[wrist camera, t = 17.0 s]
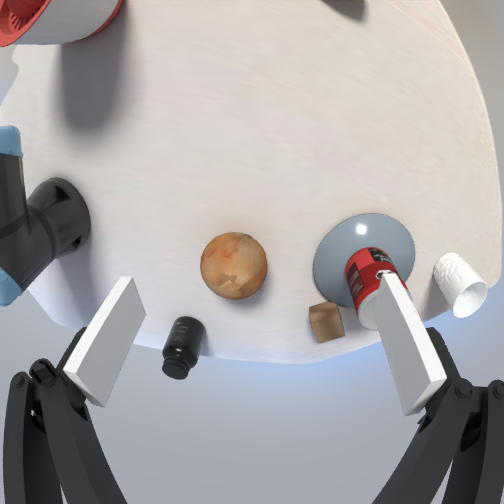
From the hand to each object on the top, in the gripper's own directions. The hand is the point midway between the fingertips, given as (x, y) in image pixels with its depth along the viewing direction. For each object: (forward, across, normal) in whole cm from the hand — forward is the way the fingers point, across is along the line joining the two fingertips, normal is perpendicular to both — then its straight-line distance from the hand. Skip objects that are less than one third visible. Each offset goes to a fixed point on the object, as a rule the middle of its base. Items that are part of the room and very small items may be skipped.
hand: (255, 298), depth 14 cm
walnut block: (+27, +10, -27) cm, 39 cm away
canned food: (+26, +16, -16) cm, 34 cm away
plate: (+27, +16, -16) cm, 35 cm away
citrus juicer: (+28, -25, +32) cm, 49 cm away
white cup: (+27, +34, -17) cm, 47 cm away
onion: (+28, -5, -13) cm, 31 cm away
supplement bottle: (+28, -16, -31) cm, 45 cm away
